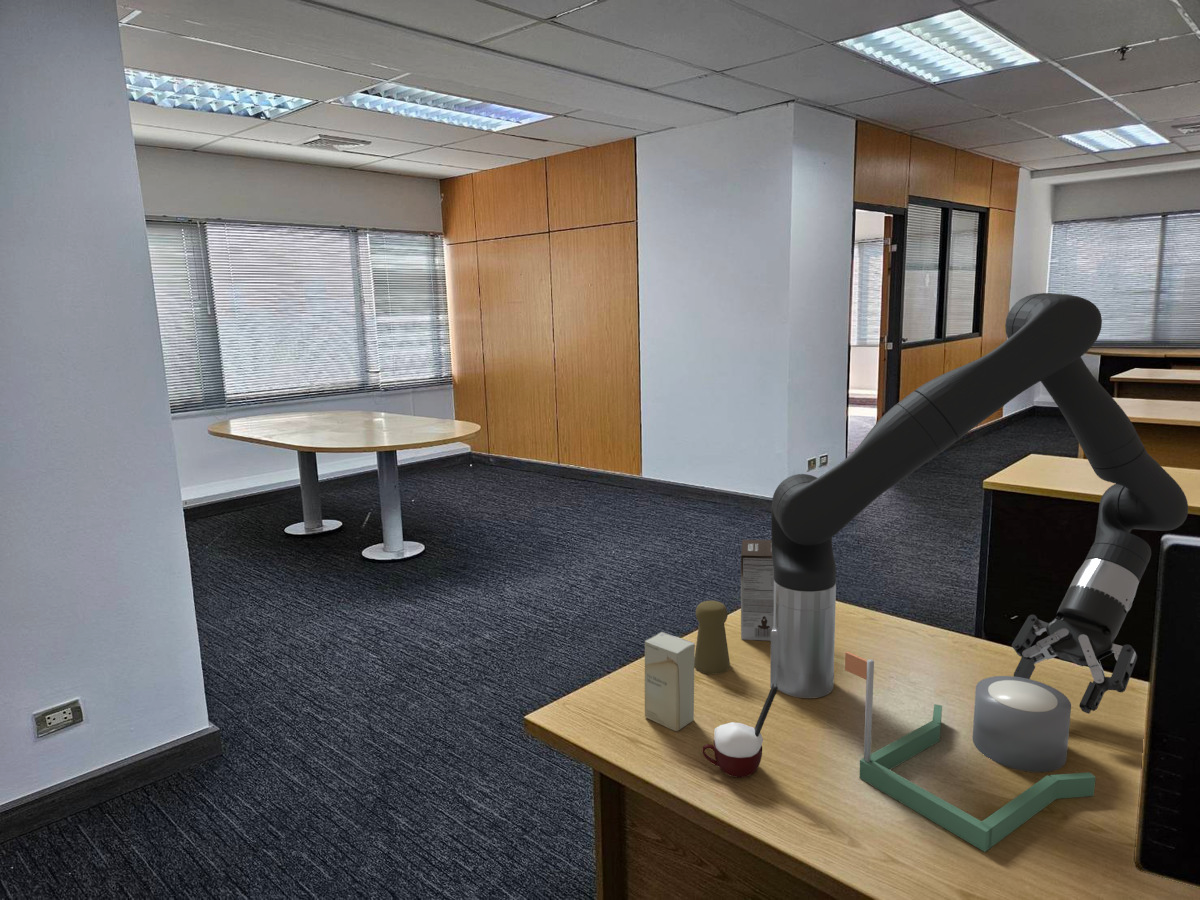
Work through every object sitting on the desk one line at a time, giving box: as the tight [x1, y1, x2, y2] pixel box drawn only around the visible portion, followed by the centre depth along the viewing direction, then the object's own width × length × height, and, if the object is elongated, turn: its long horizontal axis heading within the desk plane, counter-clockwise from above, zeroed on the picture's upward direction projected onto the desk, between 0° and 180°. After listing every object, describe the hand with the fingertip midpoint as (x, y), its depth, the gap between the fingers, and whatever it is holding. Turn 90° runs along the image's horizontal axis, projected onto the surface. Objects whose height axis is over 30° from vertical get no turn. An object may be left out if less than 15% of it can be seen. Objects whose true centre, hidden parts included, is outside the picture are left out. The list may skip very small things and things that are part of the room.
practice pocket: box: [844, 651, 1096, 853], centre depth 94 cm, size 20×22×16 cm
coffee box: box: [740, 539, 774, 642], centre depth 139 cm, size 9×6×16 cm
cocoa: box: [701, 682, 779, 778], centre depth 98 cm, size 10×6×12 cm, turn 61°
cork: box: [694, 600, 731, 675], centre depth 126 cm, size 6×6×11 cm
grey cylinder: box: [972, 675, 1072, 773], centre depth 101 cm, size 11×11×8 cm
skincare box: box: [644, 631, 696, 732], centre depth 111 cm, size 6×4×12 cm
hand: (1050, 697), depth 105 cm, fingers open, 8 cm apart
